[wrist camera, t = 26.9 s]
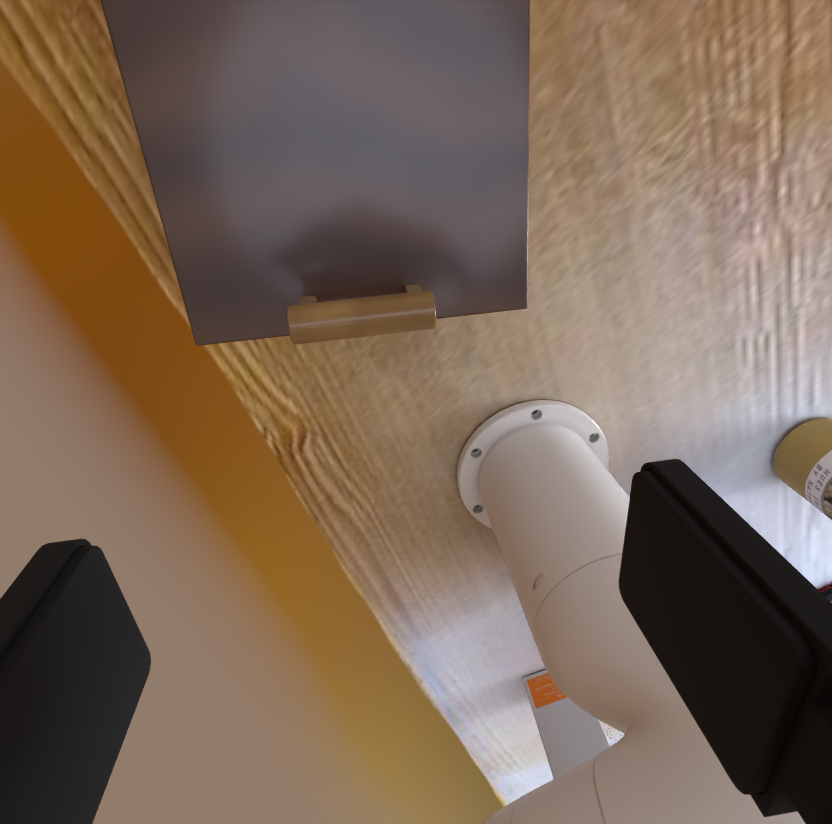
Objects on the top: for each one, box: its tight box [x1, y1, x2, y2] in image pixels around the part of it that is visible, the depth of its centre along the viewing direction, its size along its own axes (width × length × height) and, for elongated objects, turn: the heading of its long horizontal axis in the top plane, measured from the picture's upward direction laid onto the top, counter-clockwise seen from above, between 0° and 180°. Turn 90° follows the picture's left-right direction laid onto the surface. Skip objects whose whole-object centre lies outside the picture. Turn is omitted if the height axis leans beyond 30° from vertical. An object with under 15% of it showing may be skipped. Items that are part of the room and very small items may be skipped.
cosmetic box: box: [523, 669, 611, 779], centre depth 51 cm, size 6×4×12 cm
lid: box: [101, 0, 530, 346], centre depth 21 cm, size 16×17×5 cm
